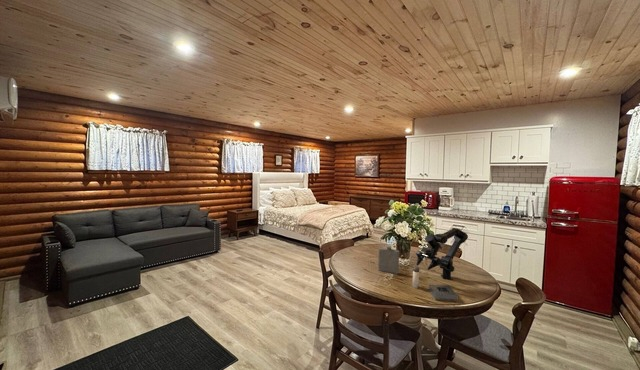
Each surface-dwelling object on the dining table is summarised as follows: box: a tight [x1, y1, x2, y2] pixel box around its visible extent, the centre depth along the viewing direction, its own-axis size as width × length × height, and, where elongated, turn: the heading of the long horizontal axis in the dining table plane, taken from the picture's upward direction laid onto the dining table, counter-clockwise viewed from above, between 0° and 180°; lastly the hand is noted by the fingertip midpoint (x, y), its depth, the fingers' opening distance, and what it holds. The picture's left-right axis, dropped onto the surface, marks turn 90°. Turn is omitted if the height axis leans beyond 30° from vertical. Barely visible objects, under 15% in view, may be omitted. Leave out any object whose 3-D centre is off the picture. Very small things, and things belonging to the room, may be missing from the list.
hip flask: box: [377, 245, 400, 275], centre depth 208 cm, size 16×4×20 cm, turn 65°
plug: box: [411, 266, 420, 289], centre depth 182 cm, size 4×4×13 cm
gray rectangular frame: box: [428, 284, 459, 302], centre depth 170 cm, size 13×13×4 cm
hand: (422, 267), depth 184 cm, fingers open, 9 cm apart
